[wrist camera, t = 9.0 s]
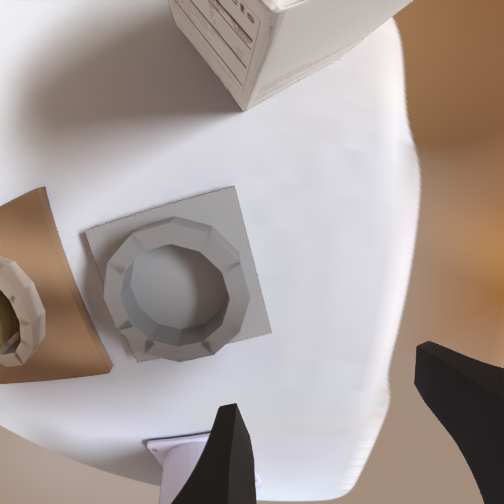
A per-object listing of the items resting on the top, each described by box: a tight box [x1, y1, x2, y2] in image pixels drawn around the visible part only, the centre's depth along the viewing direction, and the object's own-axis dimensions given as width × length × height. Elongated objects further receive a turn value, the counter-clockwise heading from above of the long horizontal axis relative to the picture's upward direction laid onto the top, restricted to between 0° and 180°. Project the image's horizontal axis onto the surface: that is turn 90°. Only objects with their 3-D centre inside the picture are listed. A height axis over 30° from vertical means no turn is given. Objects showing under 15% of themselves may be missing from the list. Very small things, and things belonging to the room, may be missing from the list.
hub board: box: [0, 187, 113, 384], centre depth 17 cm, size 13×13×3 cm
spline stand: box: [85, 186, 272, 362], centre depth 17 cm, size 9×9×3 cm
